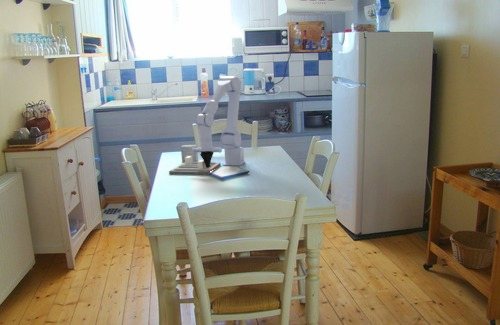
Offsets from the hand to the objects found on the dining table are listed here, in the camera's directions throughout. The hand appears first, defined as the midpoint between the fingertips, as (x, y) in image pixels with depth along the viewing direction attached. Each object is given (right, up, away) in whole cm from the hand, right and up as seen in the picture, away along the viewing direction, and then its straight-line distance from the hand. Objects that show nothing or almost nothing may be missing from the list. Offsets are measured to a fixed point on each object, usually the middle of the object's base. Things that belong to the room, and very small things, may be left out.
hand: (208, 166), depth 220 cm
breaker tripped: (-3, -1, +1) cm, 3 cm away
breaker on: (-11, +1, +11) cm, 16 cm away
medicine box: (-12, +2, +25) cm, 28 cm away
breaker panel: (-7, -2, +7) cm, 10 cm away
